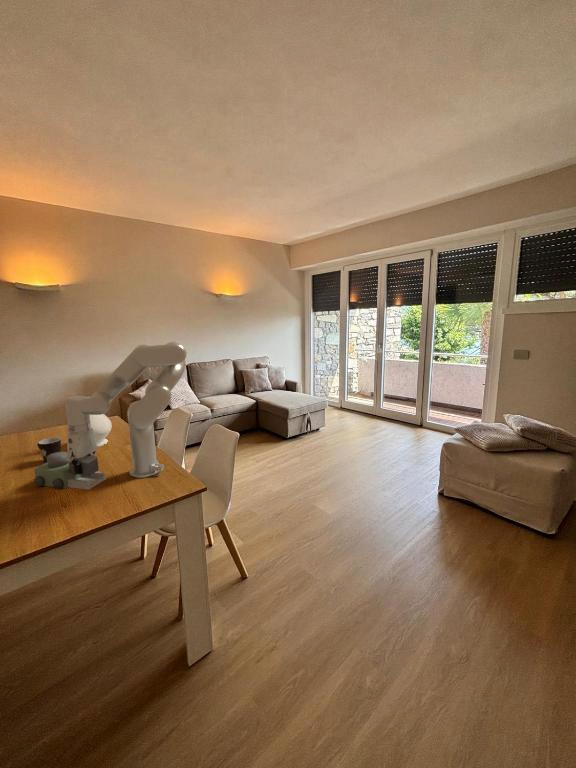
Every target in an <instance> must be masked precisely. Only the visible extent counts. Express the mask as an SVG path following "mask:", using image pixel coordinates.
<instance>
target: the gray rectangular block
mask: <svg viewBox="0 0 576 768" xmlns="http://www.w3.org/2000/svg"><path fill="white" fill-rule="evenodd" d="M72 458H73V457H72ZM76 461H77V459H76ZM80 464H81V465H82V474H79V475H87V476H90V475H91V474H93V473H95V472H99V470H100V469H99V459H98V456H95V455H94V456H88V455H86V456H84V457H82V458H81V461H80ZM69 470H70V473H71V474H75V472H74V465H72V464H71V463H70V462H69Z"/></svg>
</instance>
